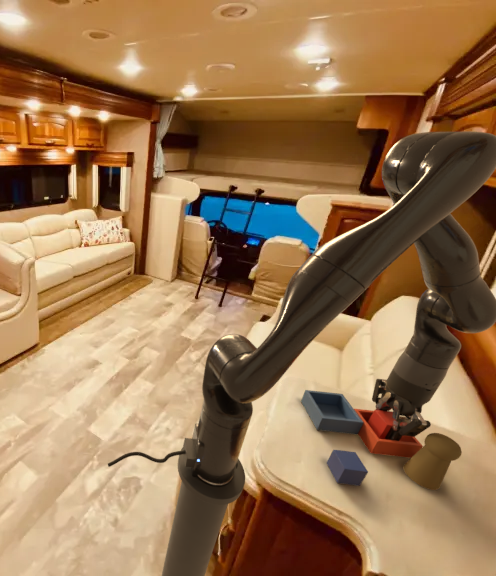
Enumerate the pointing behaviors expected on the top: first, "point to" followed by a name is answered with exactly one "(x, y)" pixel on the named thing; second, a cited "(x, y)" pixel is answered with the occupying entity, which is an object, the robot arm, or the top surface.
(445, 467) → the cork
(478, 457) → the top surface
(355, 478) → the blue block
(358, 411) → the red bin
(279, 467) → the top surface
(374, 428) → the red block
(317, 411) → the blue bin
